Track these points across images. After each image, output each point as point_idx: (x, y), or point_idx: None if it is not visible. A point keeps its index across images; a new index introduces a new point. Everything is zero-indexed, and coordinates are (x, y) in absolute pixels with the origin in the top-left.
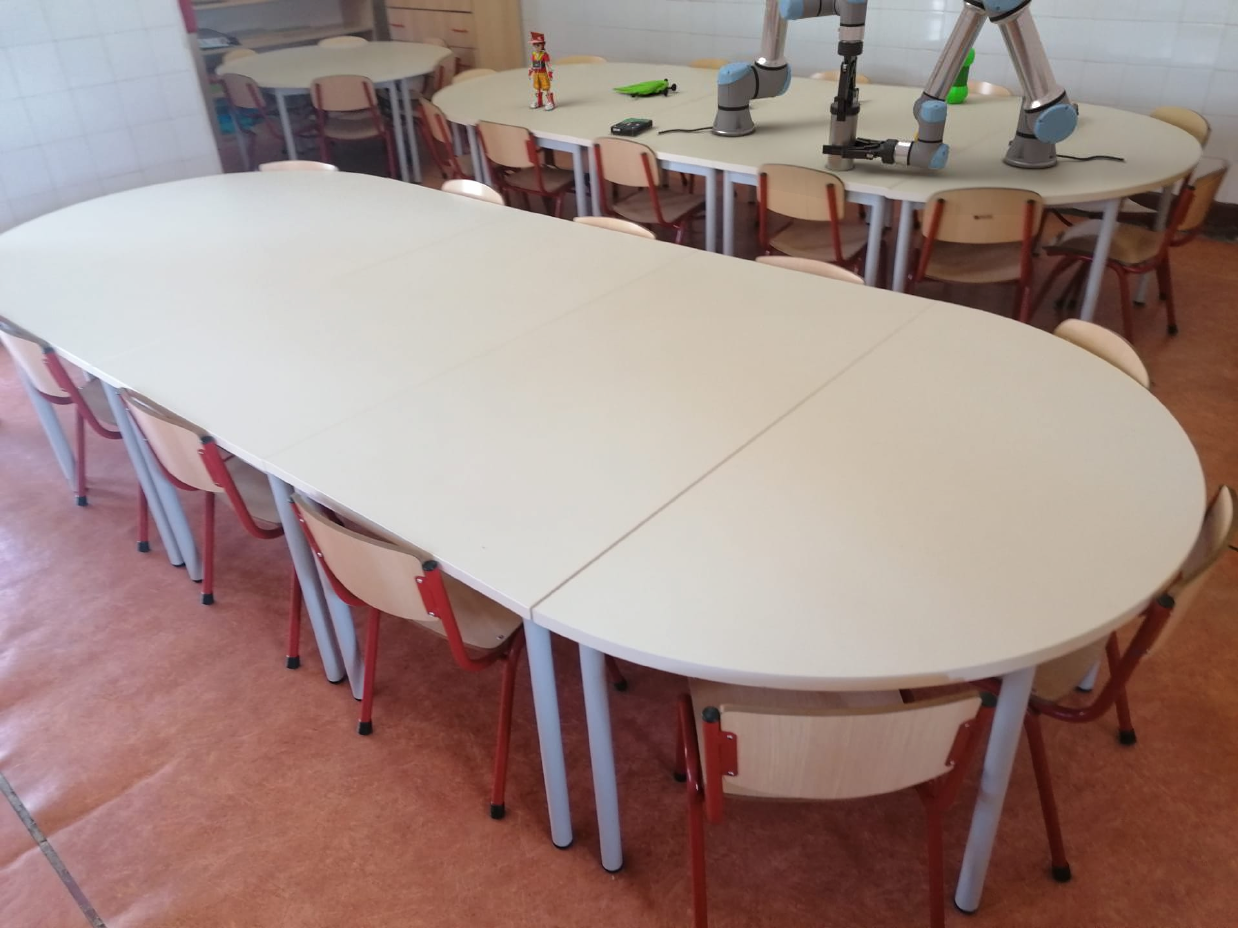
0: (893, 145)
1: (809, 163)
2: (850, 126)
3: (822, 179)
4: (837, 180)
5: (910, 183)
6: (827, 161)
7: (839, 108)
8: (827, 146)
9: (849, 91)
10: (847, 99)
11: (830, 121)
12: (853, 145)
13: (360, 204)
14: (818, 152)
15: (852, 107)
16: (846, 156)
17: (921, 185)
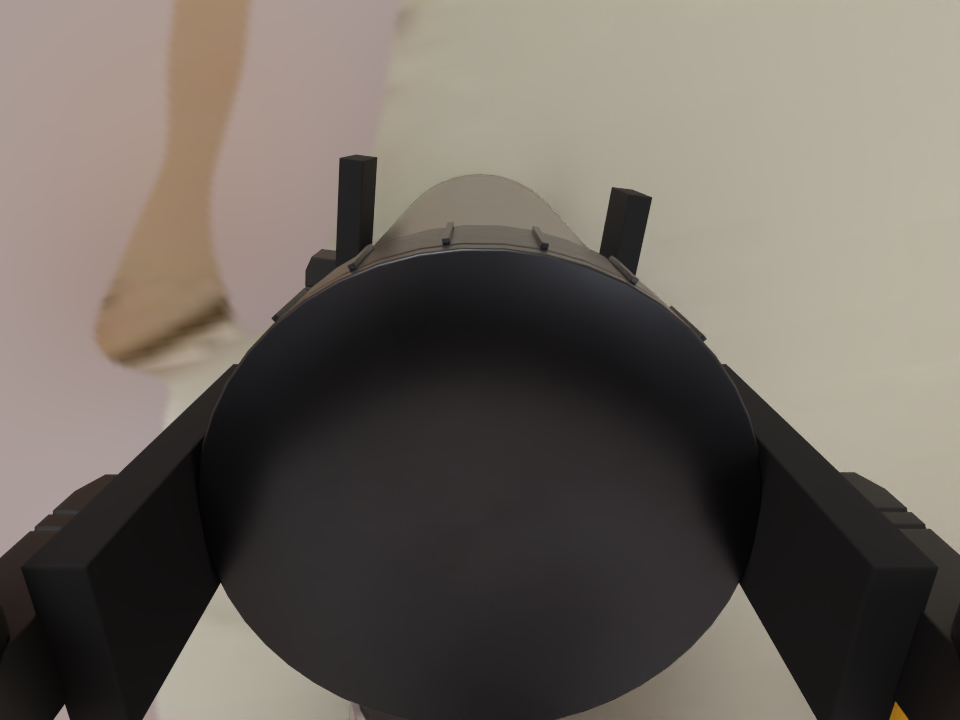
0: (370, 714)
1: (516, 12)
2: None
3: (162, 214)
4: (183, 316)
5: (286, 668)
6: (441, 185)
7: (64, 512)
8: (339, 207)
9: (920, 666)
10: (780, 529)
11: (420, 230)
12: None
13: None
14: (842, 11)
15: (297, 664)
16: None
17: (274, 710)
